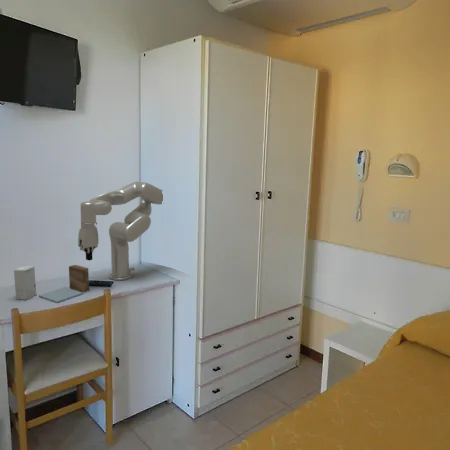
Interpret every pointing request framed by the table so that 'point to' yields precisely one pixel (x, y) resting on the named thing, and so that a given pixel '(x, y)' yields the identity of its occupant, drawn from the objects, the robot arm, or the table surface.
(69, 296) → the mat
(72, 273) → the walnut slab
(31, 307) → the table surface
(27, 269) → the skincare box
